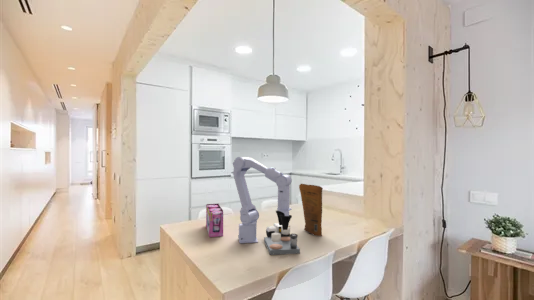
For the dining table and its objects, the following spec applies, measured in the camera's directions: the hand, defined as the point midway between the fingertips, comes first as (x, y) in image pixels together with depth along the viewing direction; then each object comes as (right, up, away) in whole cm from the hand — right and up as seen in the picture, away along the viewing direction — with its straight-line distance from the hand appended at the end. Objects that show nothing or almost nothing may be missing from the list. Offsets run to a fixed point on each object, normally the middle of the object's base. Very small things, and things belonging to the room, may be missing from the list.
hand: (283, 227), depth 128 cm
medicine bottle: (+4, -6, +16) cm, 18 cm away
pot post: (+5, -8, -5) cm, 11 cm away
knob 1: (-4, -5, -5) cm, 8 cm away
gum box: (-39, -10, +25) cm, 47 cm away
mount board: (-1, -10, +1) cm, 10 cm away
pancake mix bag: (+18, -10, +24) cm, 32 cm away
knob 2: (+2, -5, +6) cm, 8 cm away
